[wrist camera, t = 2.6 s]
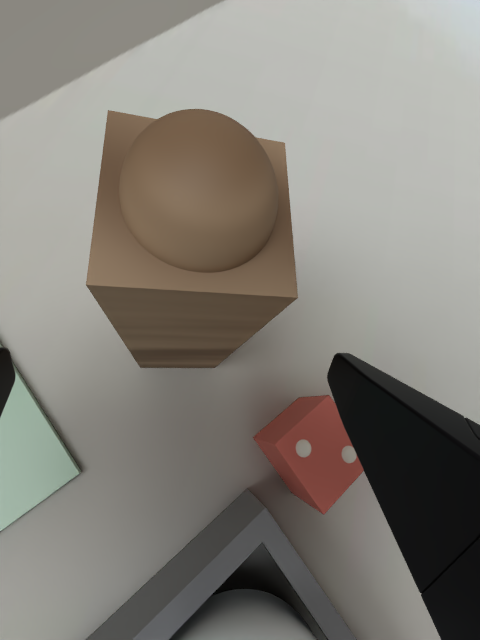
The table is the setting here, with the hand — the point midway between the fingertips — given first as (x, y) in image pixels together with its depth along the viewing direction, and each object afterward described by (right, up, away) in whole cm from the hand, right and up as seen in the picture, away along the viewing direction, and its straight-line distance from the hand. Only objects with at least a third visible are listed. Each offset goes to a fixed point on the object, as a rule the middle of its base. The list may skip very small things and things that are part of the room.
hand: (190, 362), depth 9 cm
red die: (+5, -7, +11) cm, 13 cm away
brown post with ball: (-2, 0, +11) cm, 11 cm away
